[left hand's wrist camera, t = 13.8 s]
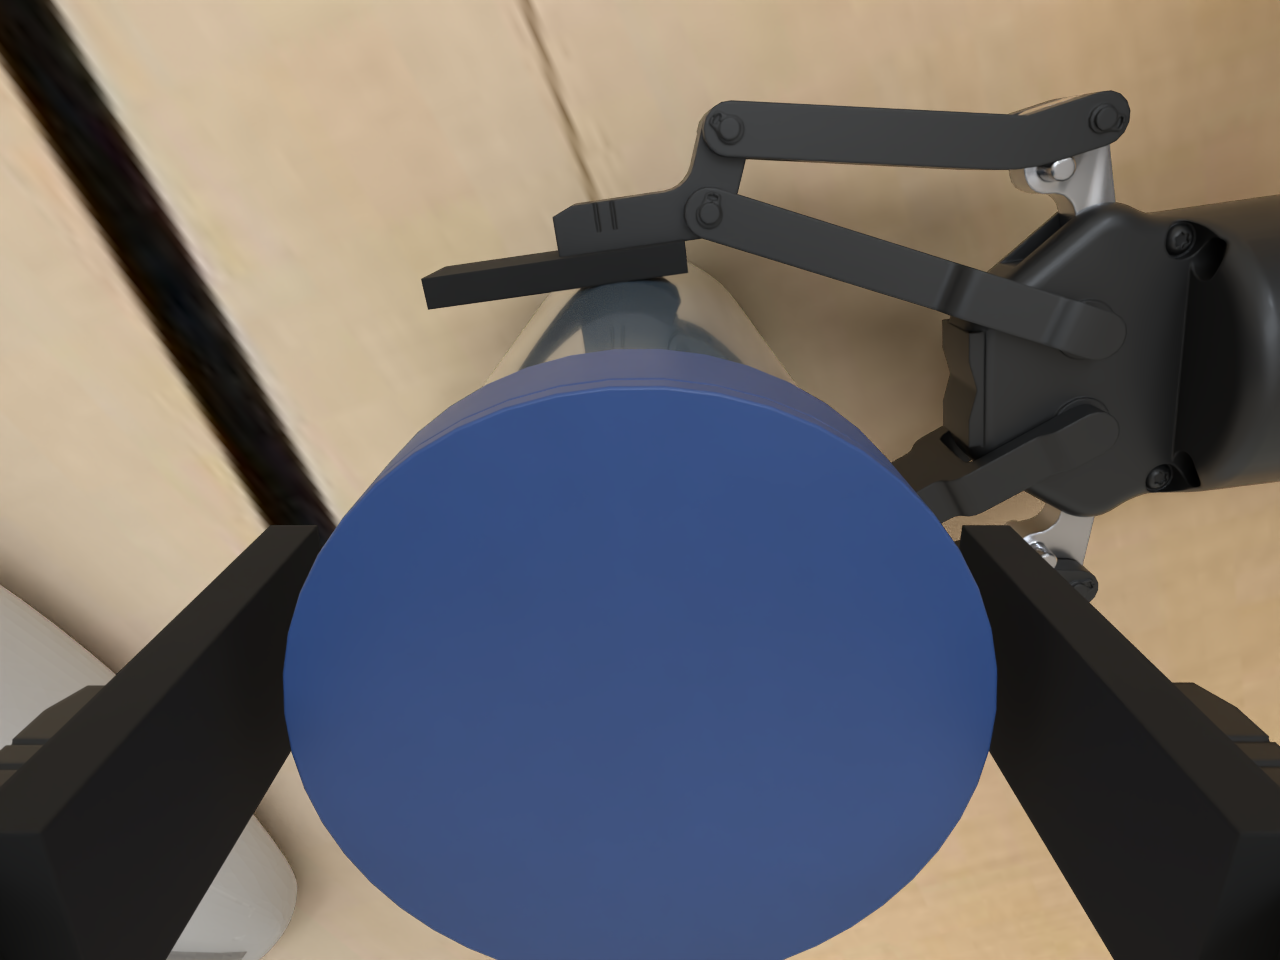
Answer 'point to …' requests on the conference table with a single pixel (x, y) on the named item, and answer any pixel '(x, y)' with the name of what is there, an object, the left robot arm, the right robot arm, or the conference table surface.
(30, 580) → the conference table surface
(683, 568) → the lid
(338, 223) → the conference table surface
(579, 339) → the jar
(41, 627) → the projector
